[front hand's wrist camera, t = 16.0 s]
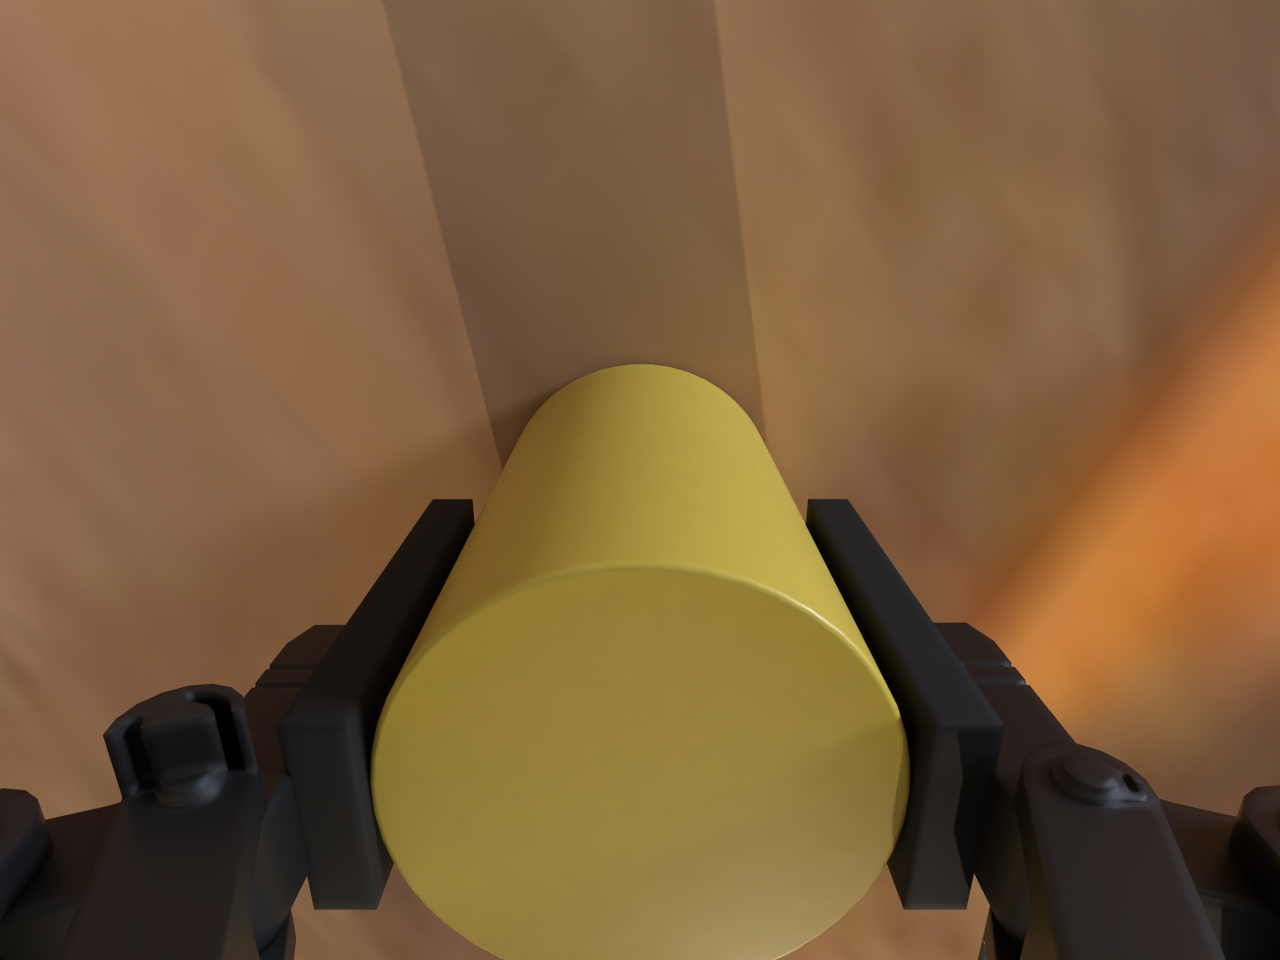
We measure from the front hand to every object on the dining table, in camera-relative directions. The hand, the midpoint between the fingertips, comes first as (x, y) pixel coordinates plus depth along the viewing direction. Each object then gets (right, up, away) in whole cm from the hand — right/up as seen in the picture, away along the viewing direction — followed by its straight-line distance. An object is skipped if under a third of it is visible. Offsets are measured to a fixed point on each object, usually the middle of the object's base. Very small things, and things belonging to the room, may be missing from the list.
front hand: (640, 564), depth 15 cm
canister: (0, +1, +3) cm, 4 cm away
